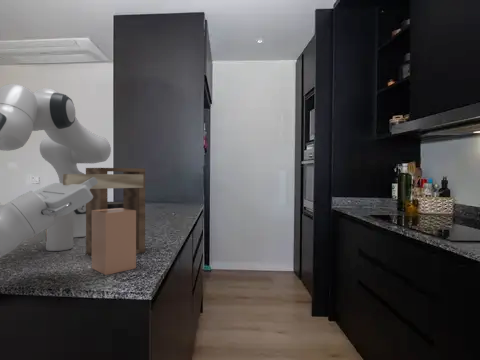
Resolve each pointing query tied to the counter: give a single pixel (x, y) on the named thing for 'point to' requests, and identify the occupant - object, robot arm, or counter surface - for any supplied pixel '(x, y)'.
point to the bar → (106, 180)
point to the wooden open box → (131, 200)
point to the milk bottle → (60, 233)
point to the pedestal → (113, 240)
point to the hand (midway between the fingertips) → (91, 179)
